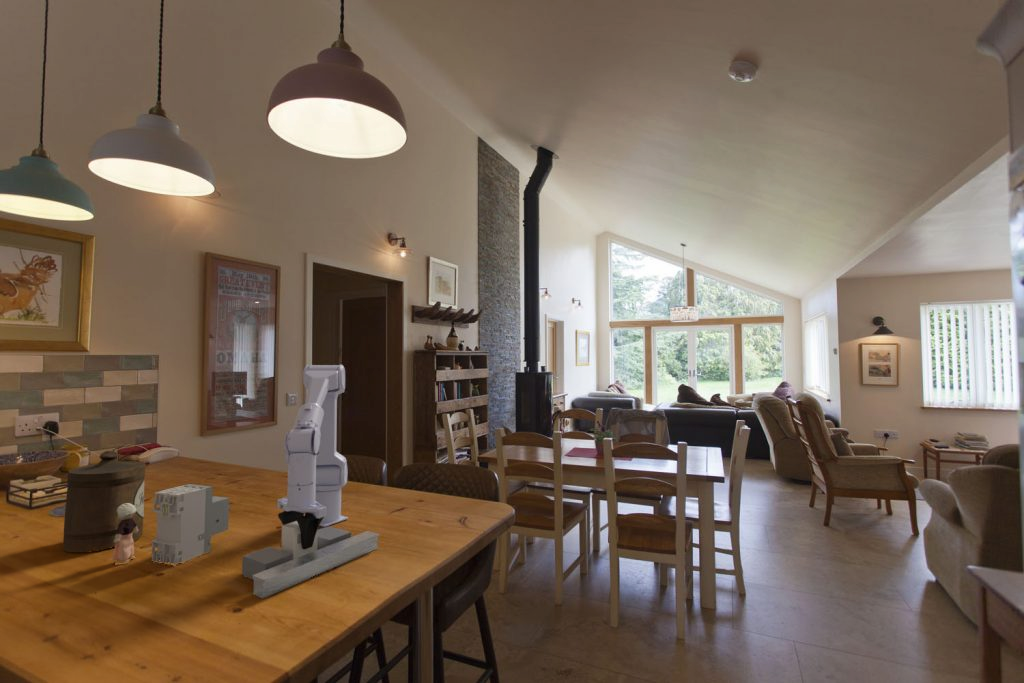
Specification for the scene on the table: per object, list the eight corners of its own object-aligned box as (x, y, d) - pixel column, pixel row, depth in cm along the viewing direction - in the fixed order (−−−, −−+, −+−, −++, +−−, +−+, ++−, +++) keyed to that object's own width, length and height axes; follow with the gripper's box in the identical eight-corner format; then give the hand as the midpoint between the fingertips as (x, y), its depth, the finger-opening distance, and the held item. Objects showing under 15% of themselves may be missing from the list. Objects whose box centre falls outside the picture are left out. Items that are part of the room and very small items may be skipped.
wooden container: (155, 536, 120) (158, 448, 121) (82, 558, 106) (87, 458, 107) (122, 528, 126) (126, 444, 127) (49, 547, 112) (54, 453, 114)
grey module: (281, 558, 103) (281, 525, 103) (306, 549, 108) (306, 517, 108) (293, 562, 100) (294, 528, 101) (318, 552, 105) (318, 520, 106)
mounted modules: (241, 575, 97) (241, 555, 97) (327, 542, 115) (327, 525, 115) (264, 585, 93) (265, 564, 93) (350, 549, 111) (351, 532, 111)
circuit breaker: (233, 543, 115) (235, 480, 116) (175, 566, 102) (177, 495, 102) (211, 539, 118) (213, 478, 118) (151, 561, 104) (153, 492, 105)
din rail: (251, 594, 89) (252, 575, 89) (366, 545, 113) (367, 530, 113) (264, 599, 87) (264, 580, 87) (378, 549, 111) (379, 533, 111)
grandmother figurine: (119, 557, 107) (121, 500, 107) (140, 554, 108) (142, 498, 109) (105, 570, 99) (108, 509, 100) (128, 567, 101) (130, 507, 102)
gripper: (265, 482, 105) (263, 545, 104) (306, 491, 98) (305, 558, 97) (293, 476, 111) (292, 535, 111) (335, 484, 104) (333, 547, 103)
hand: (300, 545), depth 104 cm, fingers closed on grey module, 4 cm apart
